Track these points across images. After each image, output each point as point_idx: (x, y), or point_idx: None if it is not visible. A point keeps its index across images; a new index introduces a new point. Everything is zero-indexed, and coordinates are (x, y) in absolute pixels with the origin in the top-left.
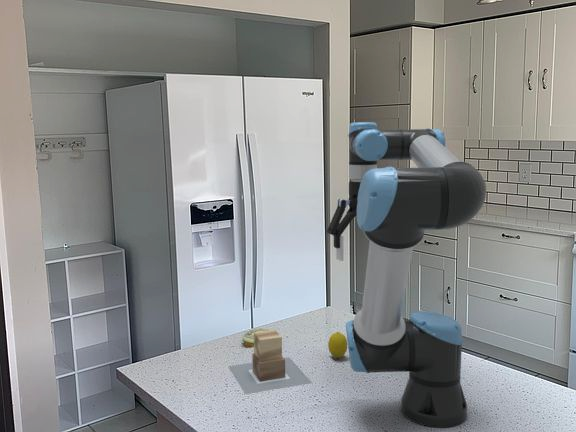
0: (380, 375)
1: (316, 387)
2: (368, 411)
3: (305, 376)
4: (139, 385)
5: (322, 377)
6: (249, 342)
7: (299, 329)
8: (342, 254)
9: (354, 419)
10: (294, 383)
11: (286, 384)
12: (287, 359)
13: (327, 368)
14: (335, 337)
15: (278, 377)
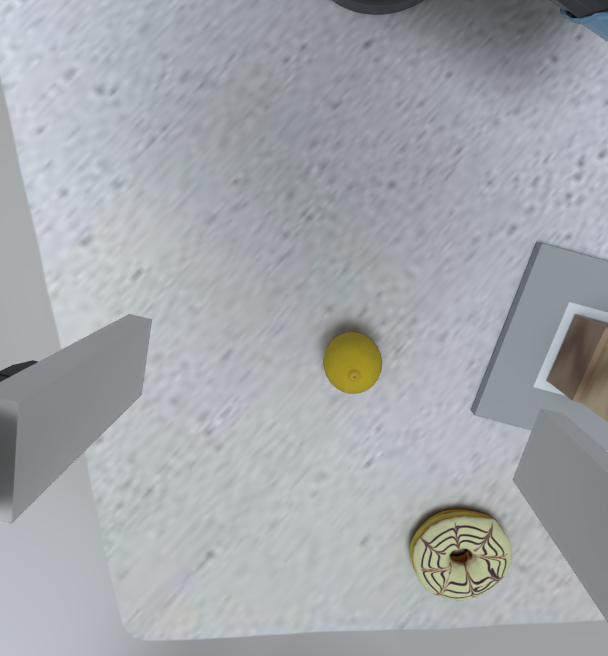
0: (333, 189)
1: (528, 235)
2: (524, 30)
3: (527, 287)
4: None
5: (471, 275)
6: (509, 543)
7: (303, 561)
8: (577, 434)
9: None
10: (582, 269)
11: (603, 277)
12: (488, 405)
13: (420, 313)
14: (371, 364)
15: (596, 320)
